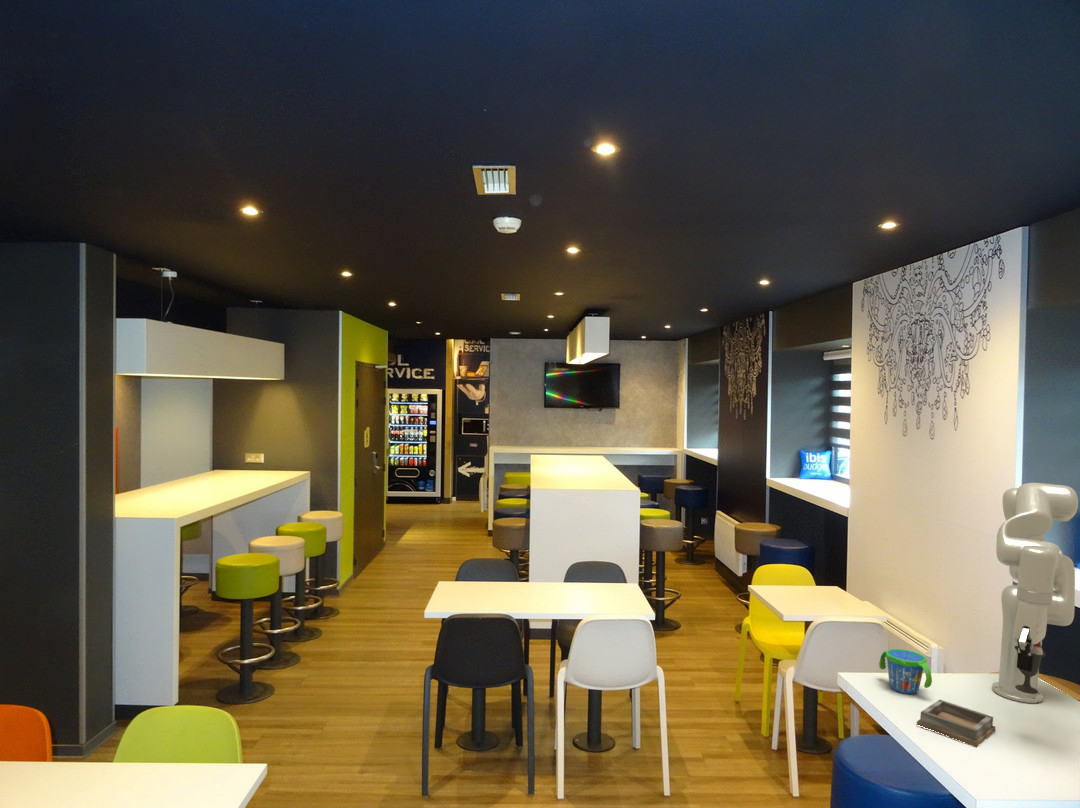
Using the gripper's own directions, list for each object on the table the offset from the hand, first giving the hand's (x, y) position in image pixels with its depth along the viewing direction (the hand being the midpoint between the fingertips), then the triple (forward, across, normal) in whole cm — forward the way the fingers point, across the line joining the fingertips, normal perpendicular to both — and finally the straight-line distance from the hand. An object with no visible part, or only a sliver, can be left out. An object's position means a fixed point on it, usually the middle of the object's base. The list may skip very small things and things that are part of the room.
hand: (1028, 665), depth 191 cm
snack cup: (+19, -6, -32) cm, 37 cm away
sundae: (+6, 0, 0) cm, 6 cm away
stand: (+18, +9, -13) cm, 24 cm away
